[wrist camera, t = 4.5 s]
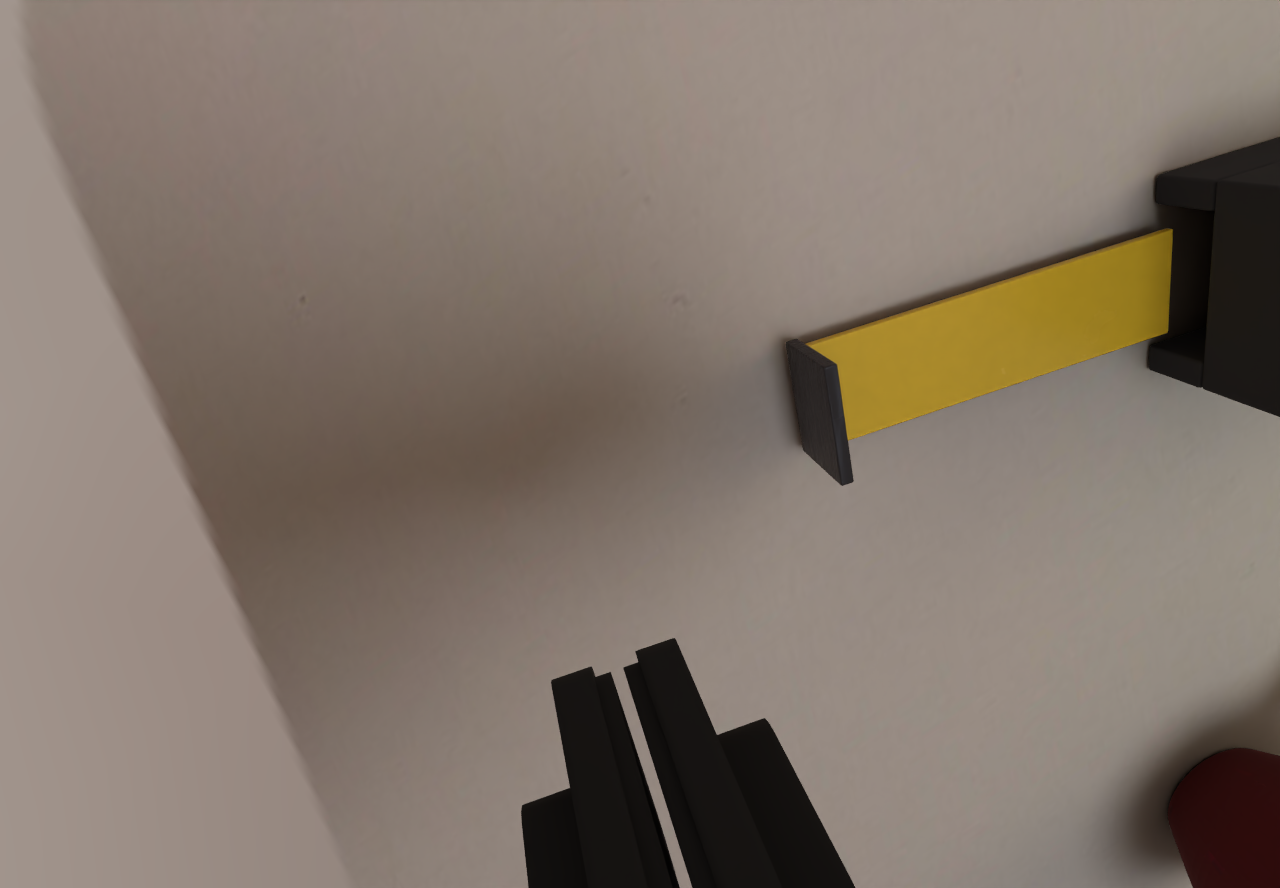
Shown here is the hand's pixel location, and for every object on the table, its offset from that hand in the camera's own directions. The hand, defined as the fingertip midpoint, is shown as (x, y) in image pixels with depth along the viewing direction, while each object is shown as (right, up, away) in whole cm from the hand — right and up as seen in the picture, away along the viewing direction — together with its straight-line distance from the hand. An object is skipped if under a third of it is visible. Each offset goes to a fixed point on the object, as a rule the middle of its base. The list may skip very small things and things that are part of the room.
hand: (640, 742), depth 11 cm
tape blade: (+9, +7, +9) cm, 14 cm away
